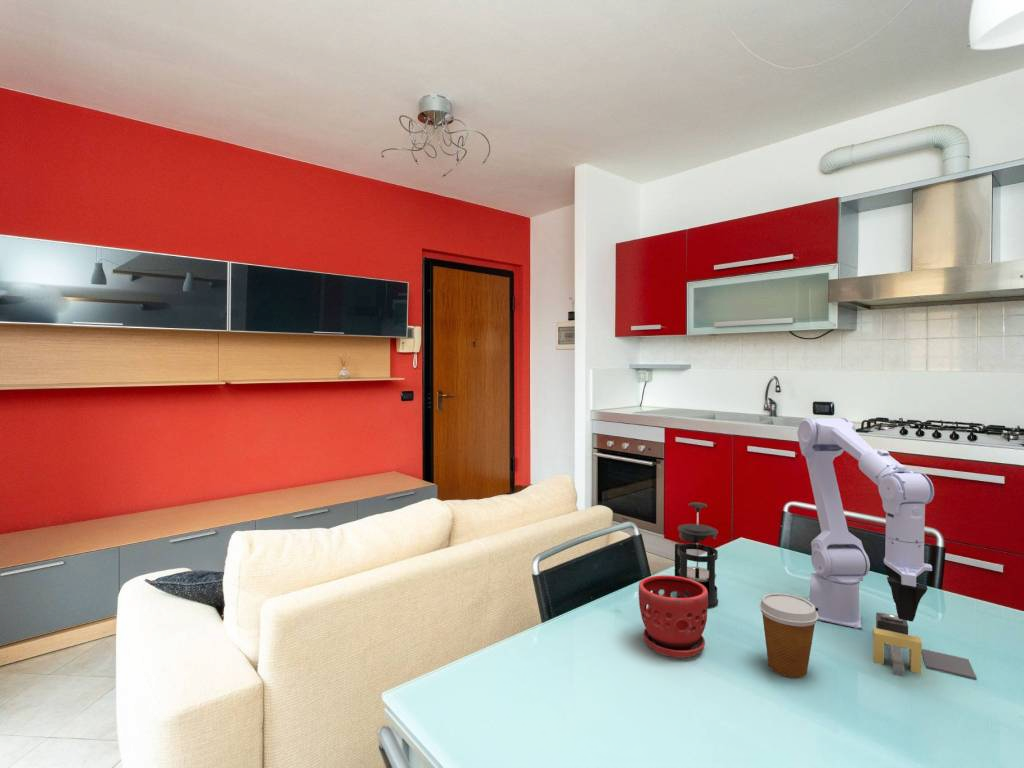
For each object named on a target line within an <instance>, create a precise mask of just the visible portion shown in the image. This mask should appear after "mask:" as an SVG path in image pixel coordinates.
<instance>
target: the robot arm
mask: <svg viewBox="0 0 1024 768" xmlns="http://www.w3.org/2000/svg"><path fill="white" fill-rule="evenodd" d="M796 433H797V438H798V442H799V448H800V453H801V455H802V456H804V458H805V460H806V465H807V469H808V473H809V474H808V475H809V479H810V484H811V485H810V486H811V488H812V489H811V490H812V493H813V498H814V503H815V508H816V513H817V517H818V523H819V527H820V533H819V534H818V535H817V536H815V538H813V539H812V541H811V542H810V547H811V559H810V560H811V564H812V568H813V569H814V571H815V572H810V577H809V581H810V583H809V597H808V601H809V602H811V603H812V604H813V605H814V606H815V609H816V612H817V613H818V620H819V621H823V622H827V623H831V624H836V625H840V626H845V627H850V628H854V629H862V618H861V616H862V615H861V612H860V582H863V581H864V577H867V575H868V574H869V572H870V568H871V562H870V559H869V555H868V554H867V553H866V551H865V549H864V546H863V543H862V540H861V539H860V538H858V537H856V536H855V535H854V534H852V533H851V532H850V531H849V528H848V525H847V524H848V523H847V519H846V515H845V511H844V508H843V507H844V506H843V502H842V498H841V493H840V490H839V485H838V480H837V475H836V471H835V466H834V463H833V462H834V460H835V458H837V457H839V456H841V455H842V454H843V452H844V451H845V452H846V453H848V454H849V455H850V456H852V457H853V458H854V459H855V460H856V461H858V468H859V471H861V472H862V473H863V474H864V475H865V476H866V477H868V478H869V479H870V480H871V481H872V482H873V483H874V484H875V485H876V486H877V488H878V489H877V490H878V493H879V496H880V498H881V501H882V508H883V512H885V547H884V548H885V549H884V550H885V554H884V557H883V562H882V565H883V568H884V569H885V571H886V573H887V576H886V580H887V583H888V585H889V587H890V589H891V595H892V600H893V603H895V609H896V615H897V616H898V618H899V619H902V620H907V622H914V620H915V617H916V613H917V610H918V607H919V605H920V601H921V600H922V598H923V596H924V595H925V594H926V593H927V591H928V586H927V584H922V583H918V582H917V577H919V576H920V575H921V574H922V573H924V572H927V571H928V572H932V571H933V566H932V564H930V563H925V521H926V517H925V516H926V505H927V504H929V503H932V501H933V499H934V496H935V488H934V484H933V482H932V480H931V479H930V478H929V477H928V476H927V475H926V473H925V472H921V471H913V470H909V469H907V467H906V466H905V465H904V464H901V463H900V462H899V461H898V460H896V459H895V458H894V457H893V456H891V455H890V452H889V451H888V450H886V449H881V448H874V449H873V447H872V446H870V444H868V443H867V442H866V441H865V440H864V438H863V437H862V436H860V435H859V434H858V433H857V431H856V425H855V423H853V422H852V421H851V420H850V419H849V418H847V417H840V418H839V417H835V418H831V417H826V418H825V417H823V418H822V417H821V418H817V417H816V418H813V417H812V418H811V417H804V418H803V419H802V420H801V421H800V424H799V425H798V429H797V431H796ZM838 546H839V547H838ZM818 620H817V621H818Z"/></svg>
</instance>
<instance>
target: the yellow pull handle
mask: <svg viewBox="0 0 1024 768" xmlns="http://www.w3.org/2000/svg"><path fill="white" fill-rule="evenodd" d="M872 635H873V638H872V639H873V643H872V644H873V645H872V658H873V663H875V664H879V665H885V664H884V662H885V644H886V645H888V644H889V645H894V646H898V647H900V648H903V649H907V650H909V654H908V656H909V658H908V666H909V670H910V672H913V673H916V674H922V659H923V656H922V649H923V643H922V640H921V637H920V636H915V635H910V634H908V635H906V634H901V633H897V632H892V631H887V630H883V629H878V628H876V627H873V633H872Z"/></svg>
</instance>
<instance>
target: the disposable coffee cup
mask: <svg viewBox="0 0 1024 768" xmlns="http://www.w3.org/2000/svg"><path fill="white" fill-rule="evenodd" d="M758 605H759V606H758V607H759V609H760V612H761V615H762V621H763V630H764V638H765V648H766V657H767V665H768V667H769V669H771V670H772V671H773V672H775V673H777V674H779V675H782V676H785V677H788V678H794V679H799V678H804V677H806V676H807V675H808V668H809V664H810V663H809V662H810V656H811V650H812V643H813V637H814V632H815V625H816V623H817V621H818V613H817V612H816V609H815V606H814V605H813V604H812V603H811V602H809V600H807V599H805V598H803V597H800V596H796V595H792V594H788V593H782V592H781V593H780V592H779V593H778V592H774V593H767V594H764V595H763V596H762V598H761V601H760V602H759V604H758Z"/></svg>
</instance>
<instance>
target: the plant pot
mask: <svg viewBox="0 0 1024 768" xmlns="http://www.w3.org/2000/svg"><path fill="white" fill-rule="evenodd" d="M661 590H663V594H661V595H660V591H661ZM685 591H688V592H689V593H690V596H689V597H686V596H685ZM674 592H675V593H677V592H678V593H679V594H680V596H681V598H676V597H671V594H672V593H674ZM638 605H639V611H640V615H641V620H642V623H643V625H644V627H645V629H644V631H643V635H642V636H643V640H644V641H645V643H646V645H647V646H649V648H651V649H652V650H653V651H655V652H657V653H659V654H662V655H664V656H667V657H671V658H690V657H693V656H696V655H697V654H700V653H701V652H702V651H703V649H704V648H705V646H706V639H705V638H704V636H703V633H704V631H705V628H706V624H707V621H708V609H709V608H708V591H707V589H706V587H705V586H703V585H702V584H700V583H699V582H697V581H694V580H691V579H688V578H684V577H678V576H675V575H666V574H665V575H664V574H662V575H654V576H653V575H652V576H648V577H645V578H643V579H642V580H641V581H639V583H638ZM707 608H708V609H707Z"/></svg>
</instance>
